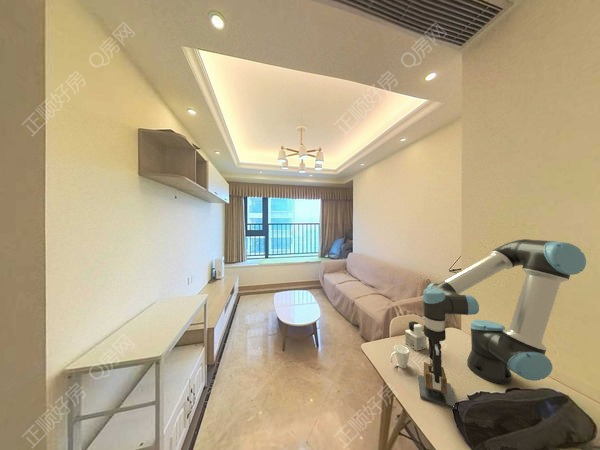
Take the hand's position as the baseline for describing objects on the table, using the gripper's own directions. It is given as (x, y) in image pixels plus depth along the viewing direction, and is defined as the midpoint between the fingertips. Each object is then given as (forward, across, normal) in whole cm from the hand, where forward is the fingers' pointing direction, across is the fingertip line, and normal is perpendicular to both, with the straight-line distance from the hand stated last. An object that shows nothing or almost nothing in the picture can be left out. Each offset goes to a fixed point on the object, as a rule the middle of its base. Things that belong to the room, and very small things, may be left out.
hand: (435, 381), depth 80 cm
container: (+5, -32, -5) cm, 33 cm away
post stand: (+4, 0, 0) cm, 4 cm away
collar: (+1, 0, 0) cm, 1 cm away
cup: (+5, -11, -13) cm, 18 cm away
